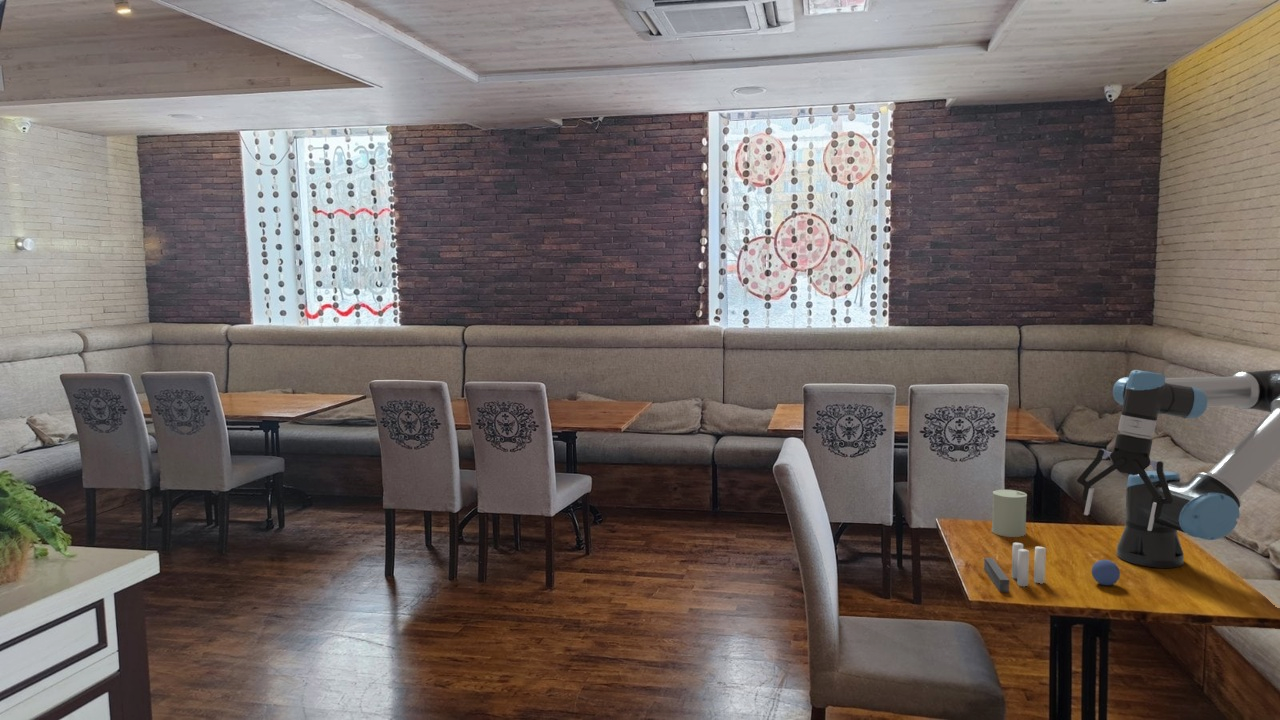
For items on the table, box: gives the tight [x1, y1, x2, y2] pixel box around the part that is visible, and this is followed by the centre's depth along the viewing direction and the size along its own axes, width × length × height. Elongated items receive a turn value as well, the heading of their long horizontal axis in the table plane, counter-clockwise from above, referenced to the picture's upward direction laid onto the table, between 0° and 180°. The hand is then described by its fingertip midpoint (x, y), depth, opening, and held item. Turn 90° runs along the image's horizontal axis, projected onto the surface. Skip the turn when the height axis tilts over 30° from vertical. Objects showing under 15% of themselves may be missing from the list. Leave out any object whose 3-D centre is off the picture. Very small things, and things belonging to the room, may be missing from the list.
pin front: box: [1033, 545, 1047, 585], centre depth 214 cm, size 2×2×8 cm
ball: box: [1091, 559, 1121, 586], centre depth 212 cm, size 6×6×6 cm
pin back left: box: [1016, 548, 1030, 588], centre depth 212 cm, size 2×2×8 cm
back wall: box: [983, 557, 1010, 593], centre depth 216 cm, size 2×16×3 cm, turn 171°
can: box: [991, 489, 1028, 538], centre depth 254 cm, size 9×9×12 cm
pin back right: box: [1011, 542, 1024, 580], centre depth 217 cm, size 2×2×8 cm
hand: (1117, 522), depth 211 cm, fingers open, 13 cm apart
